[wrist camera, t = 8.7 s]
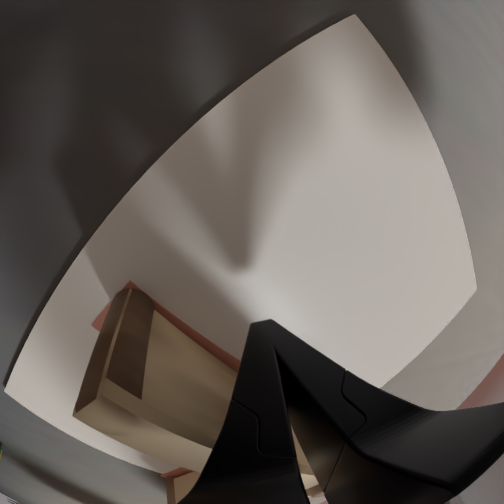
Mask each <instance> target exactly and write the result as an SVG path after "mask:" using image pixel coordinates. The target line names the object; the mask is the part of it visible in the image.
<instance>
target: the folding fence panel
mask: <svg viewBox="0 0 504 504" xmlns="http://www.w3.org/2000/svg"><path fill="white" fill-rule="evenodd" d="M237 374H238V373H237V372H236V371H235V370H233V369H232V368H230V367H229V366H227V365H226V364H225V363H223V362H222V361H220V360H219V359H217V358H216V357H215V356H213V355H212V354H211V353H209V352H208V351H206V350H205V349H204V348H202V347H201V346H200V345H198V344H197V343H196V342H194V341H193V340H192V339H191V338H189V337H188V336H187V335H185V334H184V333H183V332H182V331H180V330H179V329H178V328H177V327H175V326H174V325H173V324H172V323H170V322H169V321H168V320H167V319H165V318H164V317H163V316H162V315H161V314H159V313H158V312H157V311H156V310H155V307H154V304H153V301H152V300H151V298H150V297H149V296H148V295H147V294H146V293H144V292H142V291H140V290H138V289H133V288H127V289H123V290H121V291H119V292H118V293H117V294H116V295H115V296H114V298H113V301H112V303H111V305H110V308H109V310H108V312H107V315H106V317H105V320H104V322H103V325H102V328H101V330H100V333H99V335H98V338H97V341H96V343H95V346H94V349H93V352H92V355H91V357H90V360H89V363H88V366H87V369H86V372H85V375H84V378H83V382H82V385H81V388H80V392H79V395H78V398H77V401H76V403H75V407H74V411H73V414H72V416H73V417H74V418H76V419H77V420H79V421H81V422H83V423H84V424H86V425H88V426H89V427H91V428H93V429H95V430H97V431H98V432H100V433H102V434H104V435H106V436H108V437H110V438H112V439H114V440H116V441H118V442H120V443H122V444H124V445H127V446H129V447H131V448H133V449H135V450H138V451H140V452H142V453H145V454H147V455H150V456H152V457H155V458H157V459H160V460H163V461H165V462H168V463H171V464H174V465H177V466H180V467H183V468H186V469H189V470H192V471H196V472H199V473H201V472H202V470H203V468H204V466H205V464H206V462H207V460H208V457H209V455H210V453H211V451H212V449H213V447H214V445H215V443H216V441H217V438H218V436H219V433H220V431H221V429H222V426H223V423H224V420H225V417H226V414H227V411H228V407H229V403H230V400H231V396H232V393H233V389H234V385H235V381H236V377H237ZM291 429H292V427H291ZM292 434H293V439H294V444H295V449H296V454H297V460H298V464H299V469H300V473H301V477H302V480H303V484H304V486H305V489H309V488H311V487H313V486H315V485H318V484H319V483H318V481H317V479H316V477H315V475H314V473H313V471H312V469H311V467H310V465H309V463H308V461H307V459H306V457H305V455H304V453H303V450H302V448H301V446H300V444H299V442H298V440H297V438H296V436H295V433H294V431H293V429H292Z"/></svg>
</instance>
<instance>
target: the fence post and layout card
mask: <svg viewBox="0 0 504 504" xmlns="http://www.w3.org/2000/svg"><path fill="white" fill-rule="evenodd" d="M127 288H133V289H138V290H140V291H142V292H144V293H146V294H147V295H148V296H149V297H150V298H151V300H152V301H153V304H154V307H155V310H156V311H157V312H158V313H159V314H161V315H162V316H163V317H164V318H165V319H167V320H168V321H169V322H170V323H172V324H173V325H174V326H175V327H177V328H178V329H179V330H180V331H182V332H183V333H184V334H185V335H187V336H188V337H189V338H191V339H192V340H193V341H194V342H196V343H197V344H198V345H200V346H201V347H202V348H204V349H205V350H206V351H208V352H209V353H211V354H212V355H213V356H215V357H216V358H217V359H219V360H220V361H222V362H223V363H225V364H226V365H227V366H229V367H230V368H232V369H233V370H235V371H236V372H237V373H238V370H239V366H240V362H241V358H242V354H243V350H244V347H245V343H246V339H247V335H248V331H249V327H250V324H251V323H252V322H257V321H262V320H267V319H273V320H274V321H276V322H277V323H278V324H280V325H281V326H283V327H284V328H286V329H287V330H288V331H290V332H291V333H293V334H294V335H296V336H297V337H299V338H300V339H302V340H303V341H304V342H306V343H307V344H309V345H310V346H312V347H313V348H315V349H316V350H318V351H319V352H321V353H322V354H324V355H325V356H327V357H328V358H330V359H331V360H333V361H334V362H336V363H337V364H339V365H340V366H342V367H344V368H345V369H346V370H348V371H350V372H351V373H353V374H355V375H356V376H358V377H359V378H361V379H363V380H365V381H366V382H368V383H370V384H372V385H373V386H375V387H377V388H381V387H382V386H383V385H384V384H386V383H387V382H388V381H389V380H390V379H392V378H393V377H394V376H395V375H396V374H397V373H399V372H400V371H401V370H402V369H403V368H404V367H405V366H406V365H408V364H409V363H410V362H411V361H412V360H413V359H414V358H415V357H416V356H417V355H418V354H419V353H420V352H421V351H422V350H423V349H424V348H426V347H427V346H428V345H429V344H430V343H431V342H432V340H433V339H434V338H435V337H436V336H437V335H438V334H439V333H440V332H441V331H442V330H443V329H444V328H445V327H446V326H447V325H448V323H449V322H450V321H451V320H452V319H453V318H454V317H455V316H456V314H457V313H458V312H459V311H460V310H461V309H462V307H463V306H464V305H465V304H466V303H467V301H468V300H469V299H470V298H471V296H472V295H473V294H474V292H475V291H476V290H477V287H476V280H475V273H474V267H473V262H472V257H471V252H470V247H469V242H468V238H467V234H466V230H465V226H464V222H463V218H462V215H461V211H460V208H459V204H458V201H457V198H456V195H455V192H454V189H453V186H452V183H451V180H450V177H449V174H448V172H447V169H446V166H445V164H444V161H443V159H442V156H441V154H440V151H439V149H438V147H437V144H436V142H435V140H434V138H433V136H432V133H431V131H430V129H429V127H428V125H427V123H426V121H425V119H424V117H423V115H422V113H421V111H420V109H419V107H418V105H417V103H416V102H415V100H414V98H413V96H412V94H411V93H410V91H409V89H408V88H407V86H406V84H405V83H404V81H403V79H402V78H401V76H400V74H399V73H398V71H397V70H396V68H395V67H394V65H393V64H392V62H391V61H390V59H389V58H388V56H387V55H386V53H385V52H384V50H383V49H382V48H381V46H380V45H379V44H378V42H377V41H376V40H375V38H374V37H373V36H372V34H371V33H370V32H369V30H368V29H367V28H366V27H365V25H364V24H363V23H362V22H361V21H360V19H359V18H358V17H357V16H356V15H355V14H353V15H351V16H349V17H347V18H345V19H343V20H341V21H339V22H338V23H336V24H334V25H332V26H330V27H328V28H327V29H325V30H323V31H321V32H319V33H318V34H316V35H314V36H313V37H311V38H309V39H308V40H306V41H304V42H303V43H301V44H299V45H298V46H296V47H295V48H293V49H292V50H290V51H288V52H287V53H285V54H284V55H282V56H281V57H279V58H278V59H276V60H275V61H274V62H272V63H271V64H269V65H268V66H266V67H265V68H264V69H262V70H261V71H259V72H258V73H257V74H255V75H254V76H253V77H251V78H250V79H249V80H247V81H246V82H245V83H243V84H242V85H241V86H239V87H238V88H237V89H236V90H234V91H233V92H232V93H231V94H229V95H228V96H227V97H226V98H224V99H223V100H222V101H221V102H219V103H218V104H217V105H216V106H215V107H214V108H212V109H211V110H210V111H209V112H208V113H207V114H205V115H204V116H203V117H202V118H201V119H200V120H199V121H197V122H196V123H195V124H194V125H193V126H192V127H191V128H190V129H189V130H188V131H187V132H185V133H184V134H183V135H182V136H181V137H180V138H179V139H178V140H177V141H176V142H175V143H174V144H173V145H172V146H171V147H170V148H169V149H168V150H167V151H166V152H165V153H164V154H163V155H162V156H161V157H160V158H159V159H158V160H157V161H156V162H155V163H154V164H153V165H152V166H151V167H150V168H149V169H148V170H147V171H146V172H145V174H144V175H143V176H142V177H141V178H140V179H139V180H138V181H137V182H136V183H135V185H134V186H133V187H132V188H131V189H130V190H129V191H128V192H127V194H126V195H125V196H124V197H123V198H122V199H121V201H120V202H119V203H118V204H117V205H116V207H115V208H114V209H113V210H112V211H111V213H110V214H109V215H108V216H107V218H106V219H105V220H104V221H103V223H102V224H101V225H100V226H99V228H98V229H97V230H96V232H95V233H94V234H93V236H92V237H91V238H90V240H89V241H88V242H87V244H86V245H85V246H84V248H83V249H82V250H81V252H80V253H79V255H78V256H77V258H76V259H75V260H74V262H73V263H72V265H71V266H70V268H69V269H68V271H67V272H66V274H65V275H64V277H63V278H62V280H61V281H60V283H59V285H58V286H57V288H56V289H55V291H54V293H53V294H52V296H51V297H50V299H49V301H48V302H47V304H46V306H45V308H44V309H43V311H42V313H41V315H40V316H39V318H38V320H37V322H36V324H35V325H34V327H33V329H32V331H31V333H30V335H29V337H28V339H27V341H26V343H25V345H24V347H23V349H22V351H21V353H20V355H19V357H18V360H17V362H16V364H15V366H14V369H13V371H12V373H11V376H10V378H9V380H8V383H7V385H6V388H5V390H4V392H6V393H7V394H8V395H9V396H11V397H12V398H13V399H15V400H16V401H17V402H19V403H20V404H21V405H23V406H24V407H26V408H27V409H28V410H30V411H31V412H33V413H34V414H36V415H37V416H39V417H40V418H42V419H44V420H45V421H47V422H48V423H50V424H52V425H53V426H55V427H57V428H58V429H60V430H62V431H63V432H65V433H67V434H69V435H71V436H72V437H74V438H76V439H78V440H80V441H82V442H84V443H86V444H88V445H90V446H92V447H94V448H96V449H98V450H101V451H103V452H105V453H107V454H110V455H112V456H114V457H117V458H119V459H121V460H124V461H127V462H129V463H132V464H134V465H137V466H140V467H143V468H146V469H149V470H152V471H155V472H158V473H161V475H159V476H162V477H165V478H166V488H167V502H168V504H177V503H178V502H179V501H180V500H181V499H182V498H183V497H185V496H186V495H187V494H188V492H189V491H190V490H191V489H192V487H193V486H194V484H195V483H196V481H197V480H198V478H199V476H200V474H201V473H199V472H196V471H192V470H189V469H186V468H183V467H180V466H177V465H174V464H171V463H168V462H165V461H163V460H160V459H157V458H155V457H152V456H150V455H147V454H145V453H142V452H140V451H138V450H135V449H133V448H131V447H129V446H127V445H124V444H122V443H120V442H118V441H116V440H114V439H112V438H110V437H108V436H106V435H104V434H102V433H100V432H98V431H97V430H95V429H93V428H91V427H89V426H88V425H86V424H84V423H83V422H81V421H79V420H77V419H76V418H74V417H73V416H72V414H73V411H74V407H75V403H76V401H77V398H78V395H79V392H80V388H81V385H82V382H83V378H84V375H85V372H86V369H87V366H88V363H89V360H90V357H91V355H92V352H93V349H94V346H95V343H96V341H97V338H98V335H99V333H100V330H101V328H102V325H103V322H104V320H105V317H106V315H107V312H108V310H109V308H110V305H111V303H112V301H113V298H114V296H115V295H116V294H117V293H118V292H119V291H121V290H123V289H127ZM306 492H307V495H308V498H310V497H313V498H314V497H320V496H324V492H323V491H322V489H321V487H320V485H319V484H318V485H315V486H313V487H311V488H309V489H306Z"/></svg>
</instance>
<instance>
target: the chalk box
mask: <svg viewBox="0 0 504 504" xmlns="http://www.w3.org/2000/svg"><path fill="white" fill-rule="evenodd" d="M1 455H2V443H0V461H1Z"/></svg>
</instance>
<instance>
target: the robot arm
mask: <svg viewBox="0 0 504 504" xmlns="http://www.w3.org/2000/svg"><path fill="white" fill-rule="evenodd" d="M291 427H292V429H293V431H294V433H295V436H296V438H297V440H298V442H299V444H300V446H301V448H302V450H303V453H304V455H305V457H306V459H307V461H308V463H309V465H310V467H311V469H312V471H313V473H314V475H315V477H316V479H317V481H318V483H319V485H320V487H321V489H322V491H323V492H324V496H325V498H326V500H327V501H328V503H329V504H504V402H502V403H498V404H493V405H487V406H481V407H475V408H467V409H460V410H450V411H434V410H429V409H425V408H422V407H419V406H417V405H415V404H412V403H410V402H408V401H405V400H403V399H401V398H399V397H396V396H394V395H392V394H390V393H388V392H385V391H383V390H381V389H379V388H377V387H375V386H373V385H372V384H370V383H368V382H366V381H365V380H363V379H361V378H359V377H358V376H356V375H355V374H353V373H351V372H350V371H348V370H346V369H345V368H344V367H342V366H340V365H339V364H337V363H336V362H334V361H333V360H331V359H330V358H328V357H327V356H325V355H324V354H322V353H321V352H319V351H318V350H316V349H315V348H313V347H312V346H310V345H309V344H307V343H306V342H304V341H303V340H302V339H300V338H299V337H297V336H296V335H294V334H293V333H291V332H290V331H288V330H287V329H286V328H284V327H283V326H281V325H280V324H278V323H277V322H276V321H274V320H273V319H267V320H262V321H257V322H252V323H251V324H250V327H249V331H248V335H247V339H246V343H245V347H244V350H243V354H242V358H241V362H240V366H239V370H238V374H237V377H236V381H235V385H234V389H233V393H232V396H231V400H230V403H229V407H228V411H227V414H226V417H225V420H224V423H223V426H222V429H221V431H220V433H219V436H218V438H217V441H216V443H215V445H214V447H213V449H212V451H211V453H210V455H209V457H208V460H207V462H206V464H205V466H204V468H203V470H202V472H201V474H200V476H199V478H198V480H197V481H196V483H195V484H194V486H193V487H192V489H191V490H190V491H189V492H188V494H187V495H186V496H185V497H183V498H182V499H181V500H180V501H179V502H178V503H177V504H310V501H309V498H308V495H307V492H306V489H305V486H304V484H303V480H302V477H301V473H300V469H299V464H298V460H297V454H296V449H295V444H294V439H293V434H292V429H291Z"/></svg>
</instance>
